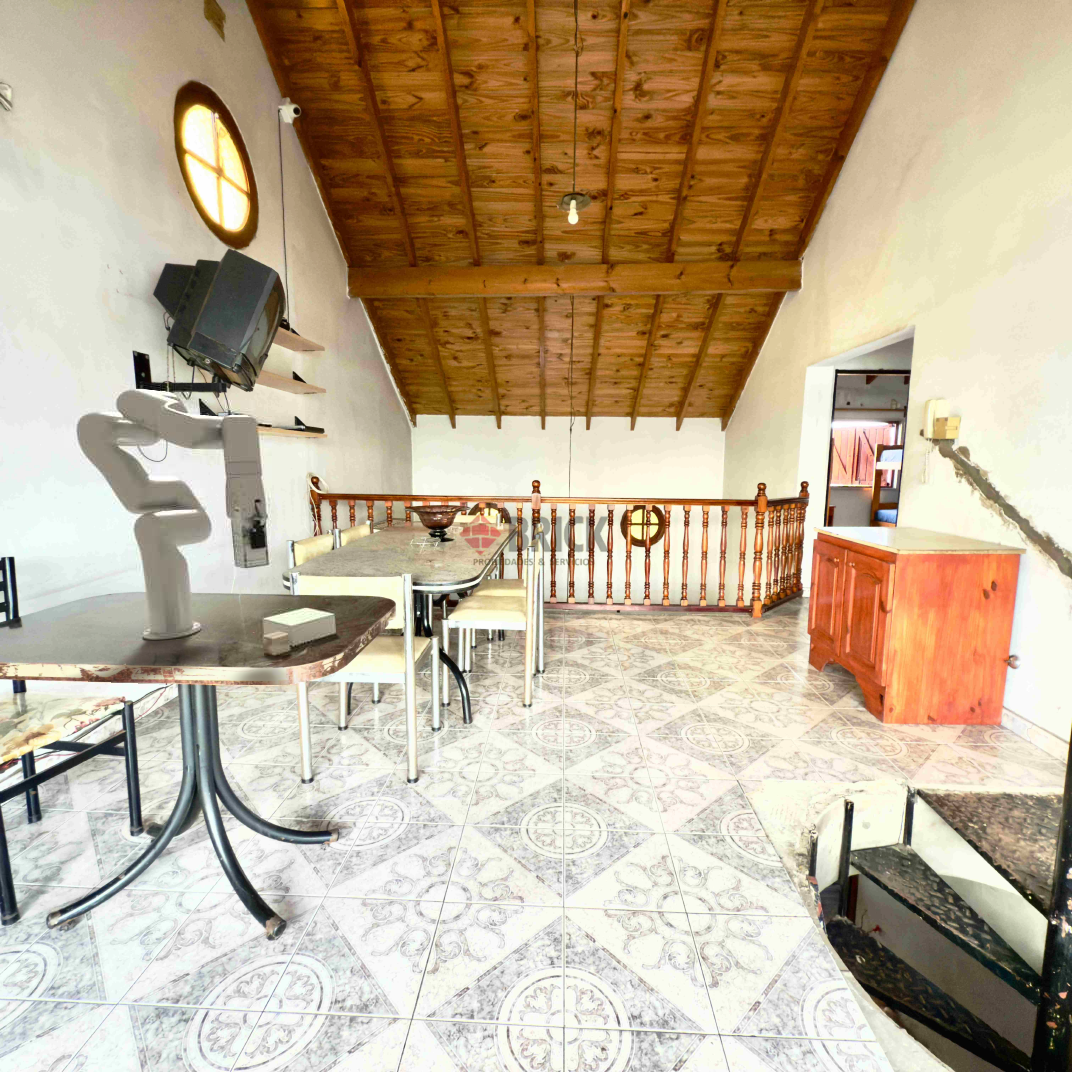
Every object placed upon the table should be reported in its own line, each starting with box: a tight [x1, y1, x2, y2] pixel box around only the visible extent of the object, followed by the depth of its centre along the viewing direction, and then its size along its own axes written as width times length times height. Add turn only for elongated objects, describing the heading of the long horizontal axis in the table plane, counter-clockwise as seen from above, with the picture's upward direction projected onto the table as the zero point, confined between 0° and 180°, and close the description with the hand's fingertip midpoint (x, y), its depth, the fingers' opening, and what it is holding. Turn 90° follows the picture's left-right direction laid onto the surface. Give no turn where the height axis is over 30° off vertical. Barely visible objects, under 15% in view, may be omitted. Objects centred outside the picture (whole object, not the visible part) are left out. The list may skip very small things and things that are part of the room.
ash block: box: [262, 631, 291, 656], centre depth 130 cm, size 4×4×4 cm
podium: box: [262, 607, 337, 647], centre depth 141 cm, size 12×12×5 cm
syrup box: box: [230, 506, 270, 569], centre depth 132 cm, size 6×6×14 cm
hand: (250, 546), depth 132 cm, fingers closed on syrup box, 6 cm apart
